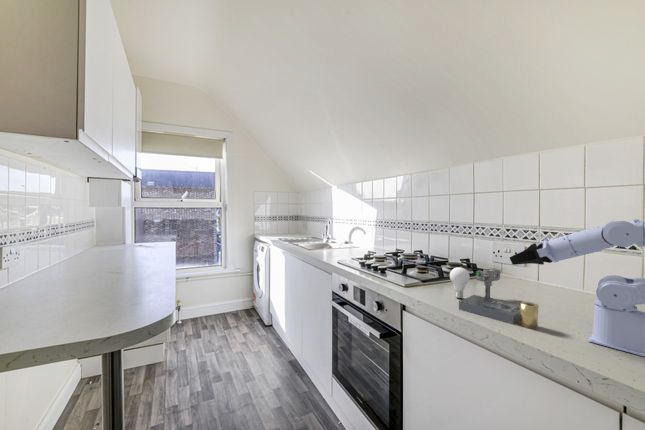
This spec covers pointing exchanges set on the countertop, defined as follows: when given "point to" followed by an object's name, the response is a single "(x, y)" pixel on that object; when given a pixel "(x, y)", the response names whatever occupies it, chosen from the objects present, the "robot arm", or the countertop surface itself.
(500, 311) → the plate
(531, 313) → the cylinder
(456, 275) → the lightbulb
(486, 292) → the mechanical component
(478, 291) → the countertop surface
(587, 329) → the countertop surface
